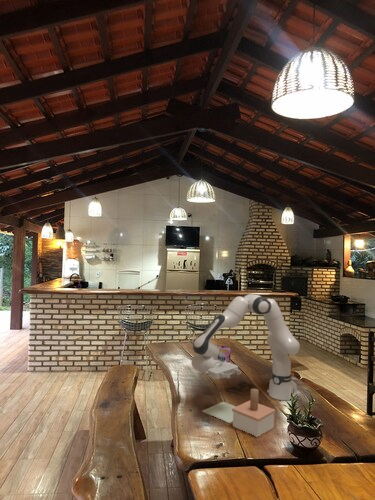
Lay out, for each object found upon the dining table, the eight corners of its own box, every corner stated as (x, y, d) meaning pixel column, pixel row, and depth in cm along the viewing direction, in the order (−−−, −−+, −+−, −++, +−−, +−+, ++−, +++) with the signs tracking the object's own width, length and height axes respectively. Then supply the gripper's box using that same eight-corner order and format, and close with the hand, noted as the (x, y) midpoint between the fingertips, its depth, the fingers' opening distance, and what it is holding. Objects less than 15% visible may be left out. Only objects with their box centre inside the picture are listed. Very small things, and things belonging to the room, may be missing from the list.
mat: (223, 402, 225) (223, 401, 225) (250, 413, 212) (250, 412, 212) (202, 411, 211) (202, 410, 211) (229, 423, 198) (229, 422, 198)
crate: (249, 417, 206) (250, 403, 206) (273, 427, 196) (274, 412, 196) (232, 426, 195) (233, 410, 195) (257, 437, 185) (258, 421, 185)
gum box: (231, 364, 299) (232, 347, 298) (227, 367, 292) (228, 349, 292) (204, 359, 310) (205, 342, 310) (200, 361, 303) (201, 344, 303)
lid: (249, 405, 207) (250, 382, 207) (275, 415, 196) (276, 390, 195) (231, 413, 195) (232, 389, 195) (258, 424, 184) (259, 398, 184)
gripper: (203, 366, 206) (223, 373, 197) (226, 359, 221) (246, 365, 211) (202, 377, 206) (222, 385, 197) (225, 370, 221) (245, 377, 211)
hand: (234, 375), depth 204 cm, fingers open, 8 cm apart
